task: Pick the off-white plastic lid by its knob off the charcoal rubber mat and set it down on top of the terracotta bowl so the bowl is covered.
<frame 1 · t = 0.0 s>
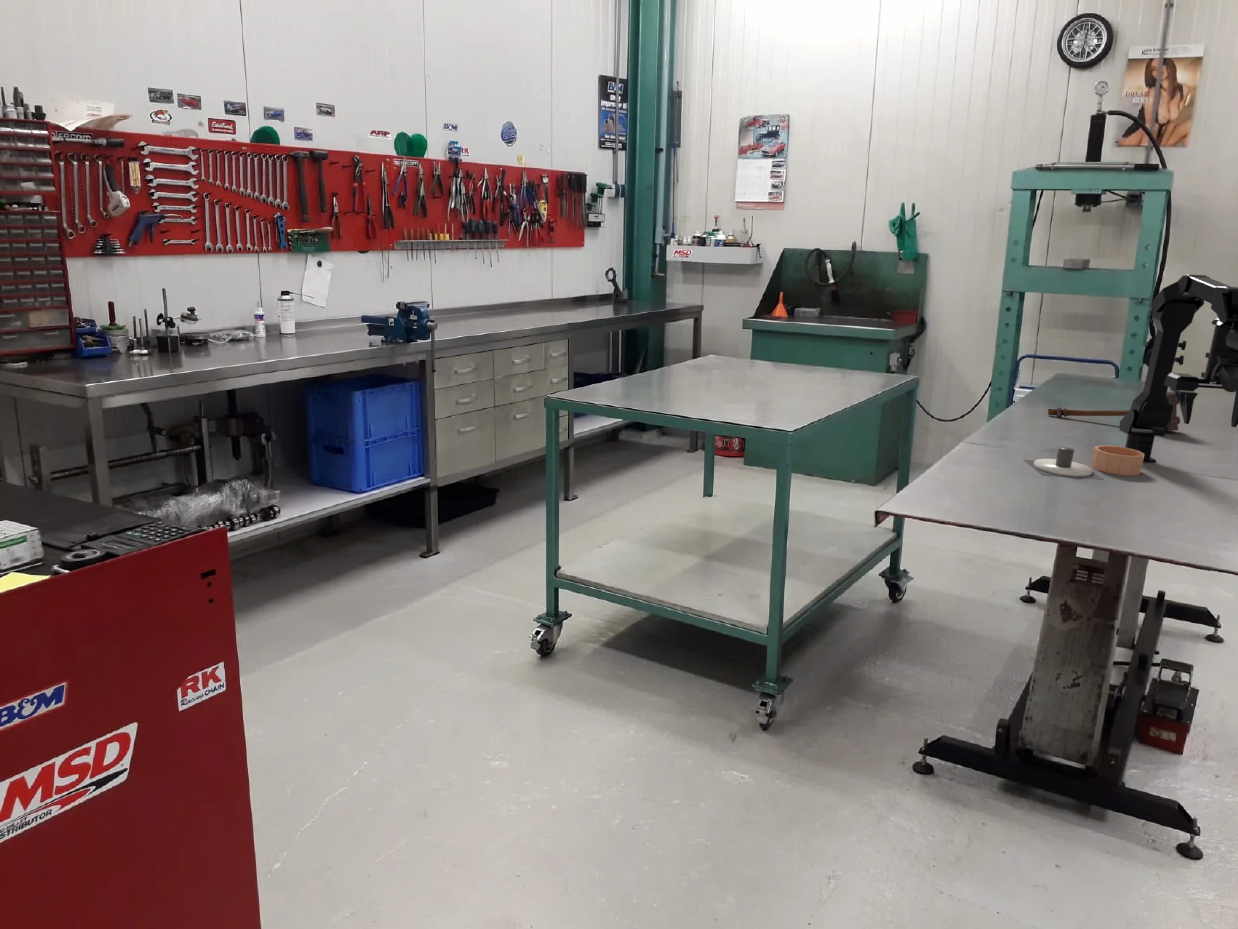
hand: (1209, 425, 187), 15 cm above the table, fingers open, 9 cm apart
mat: (1062, 470, 204), on the table
hammer: (1109, 425, 257), on the table
bowl: (1115, 469, 207), on the table
lid: (1062, 469, 204), resting on mat
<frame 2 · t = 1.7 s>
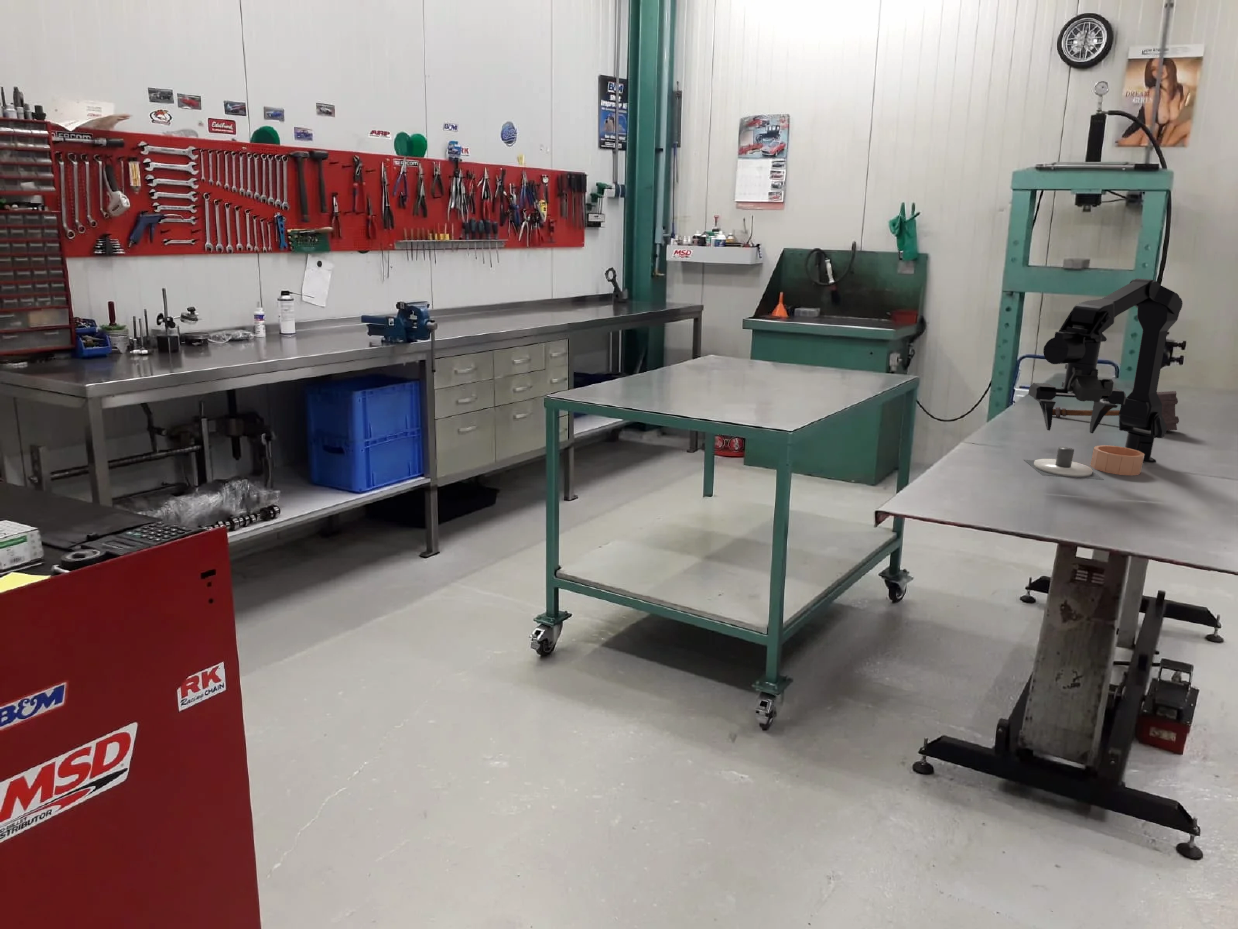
hand: (1069, 431, 202), 9 cm above the table, fingers open, 9 cm apart
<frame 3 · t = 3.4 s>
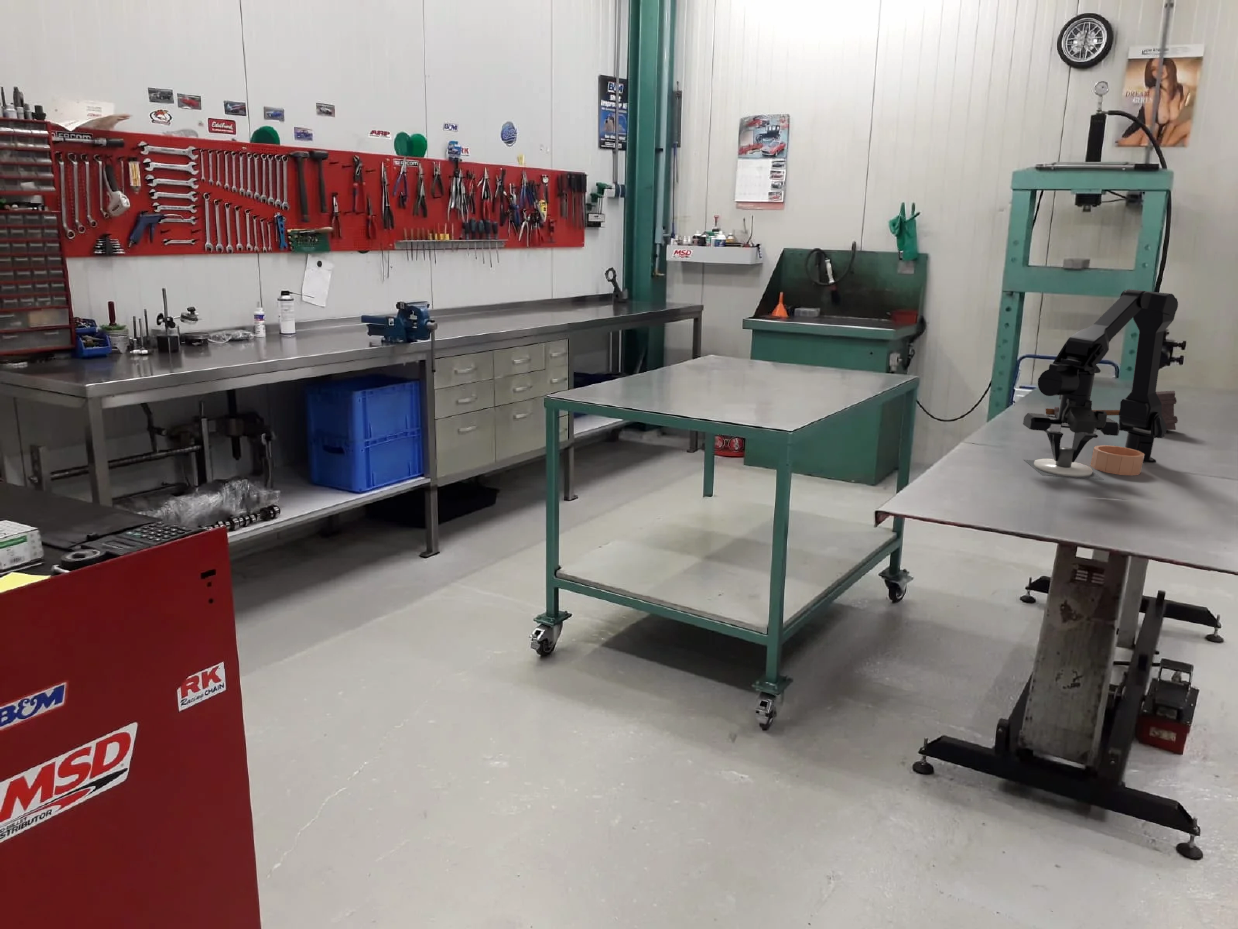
hand: (1063, 461, 204), 2 cm above the table, fingers closed on lid, 3 cm apart
lid: (1062, 469, 204), resting on mat, touching gripper
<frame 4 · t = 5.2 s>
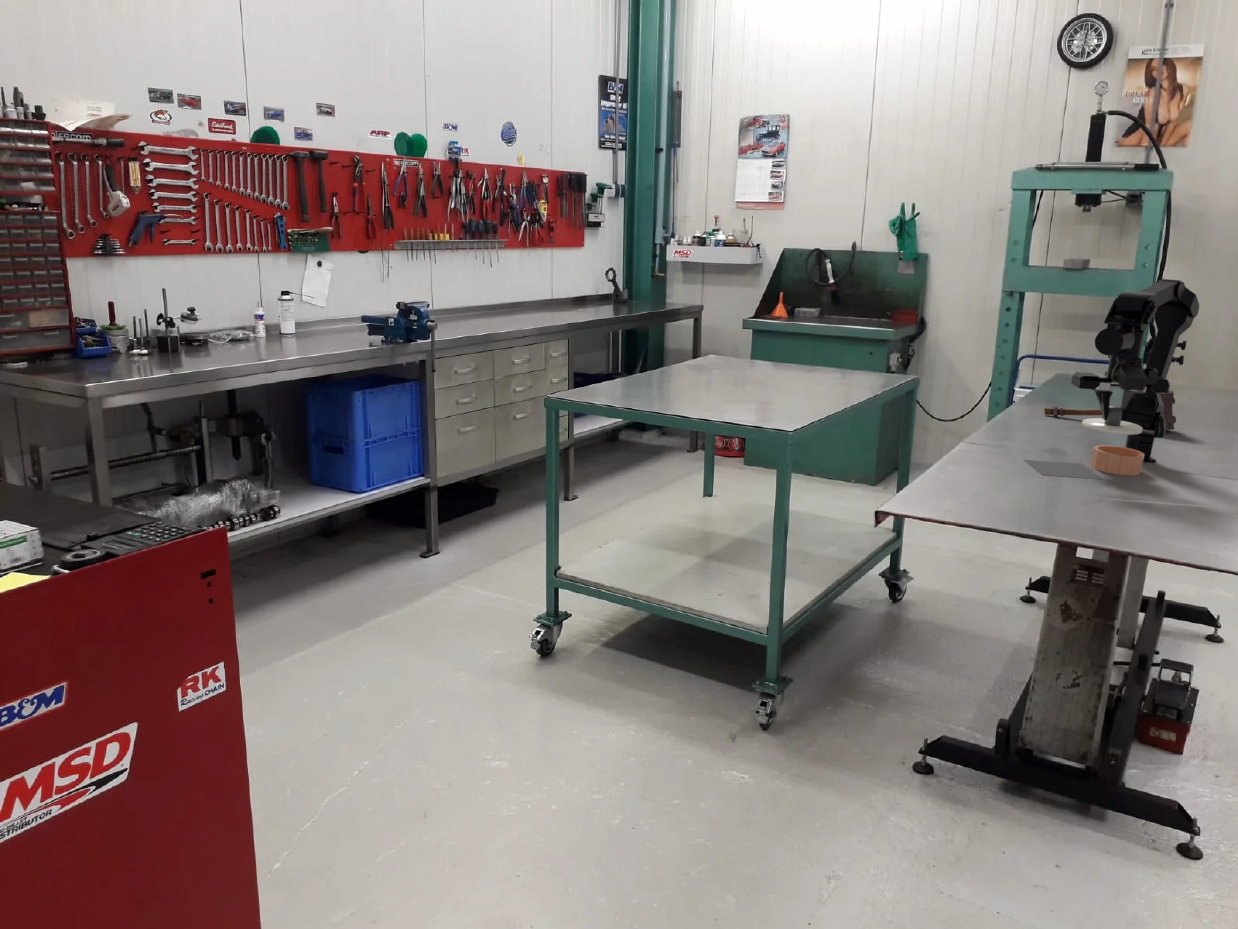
hand: (1112, 420, 204), 12 cm above the table, fingers closed on lid, 3 cm apart
lid: (1111, 428, 204), point 10 cm above the table, touching gripper
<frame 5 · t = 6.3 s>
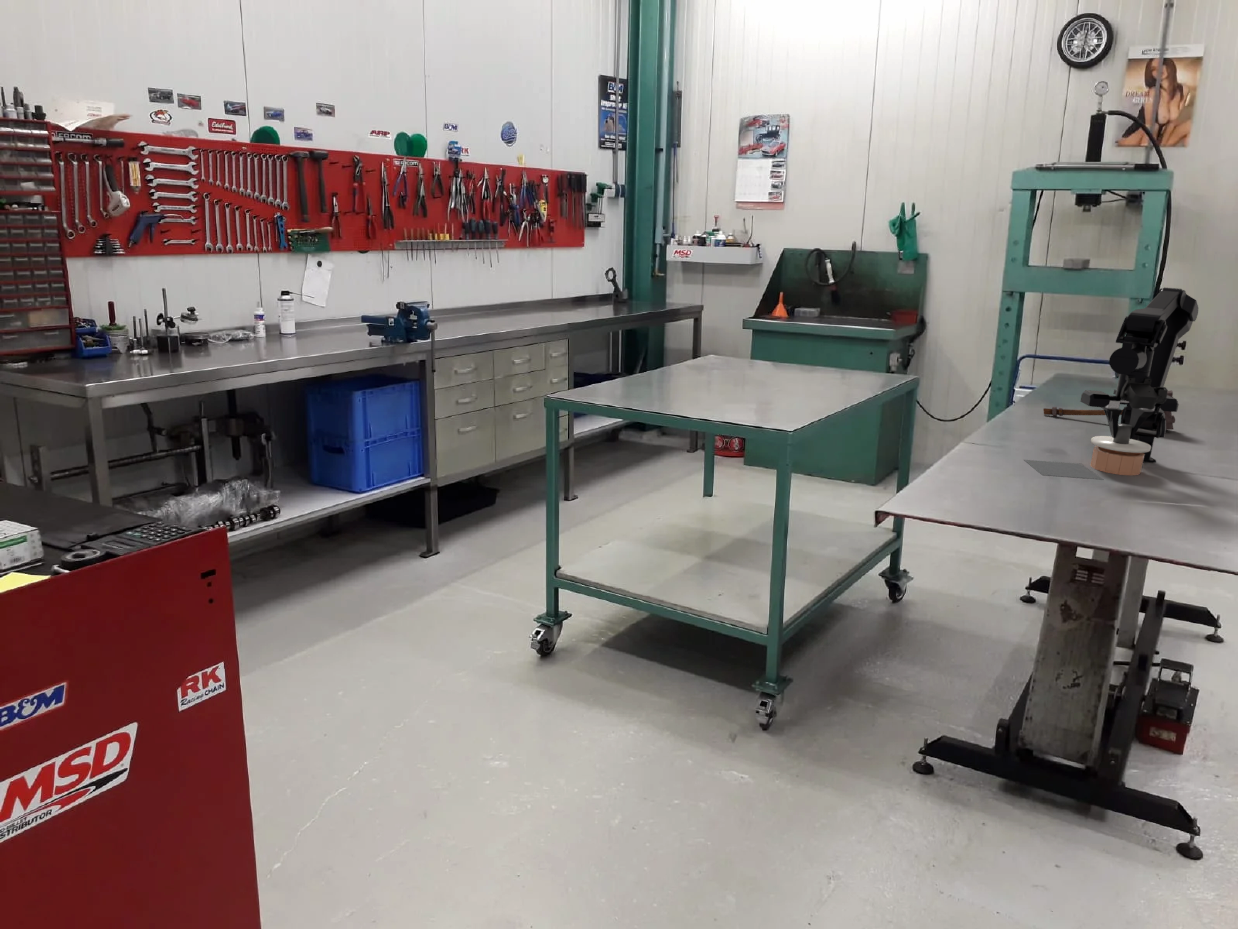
hand: (1121, 438, 205), 7 cm above the table, fingers closed on lid, 3 cm apart
lid: (1120, 445, 205), point 6 cm above the table, touching gripper
when the fingers open (7 cm above the table, at t = 6.9 s): lid drops 1 cm, resting on bowl.
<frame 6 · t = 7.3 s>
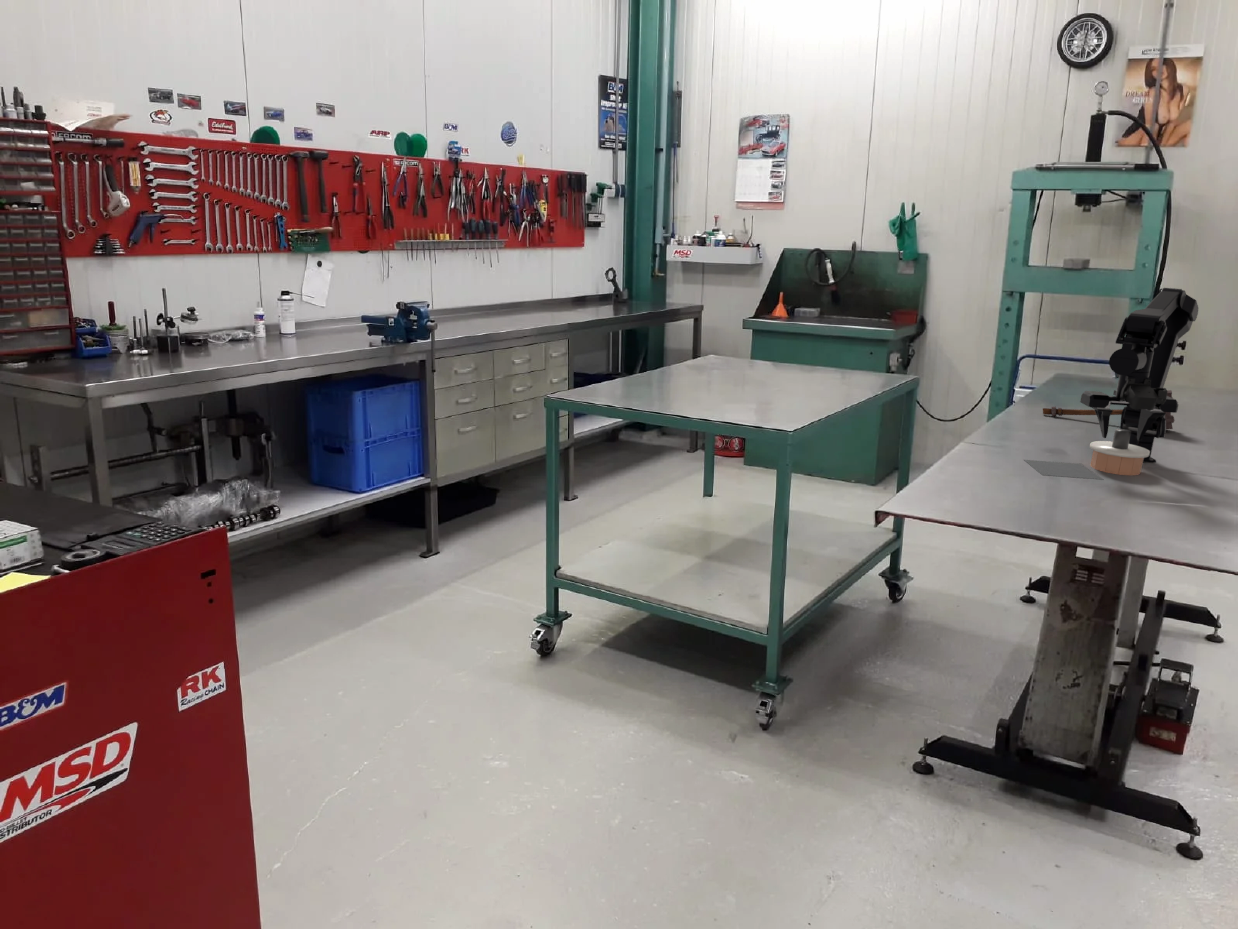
hand: (1121, 438, 205), 7 cm above the table, fingers open, 7 cm apart
lid: (1119, 450, 206), point 4 cm above the table, touching bowl
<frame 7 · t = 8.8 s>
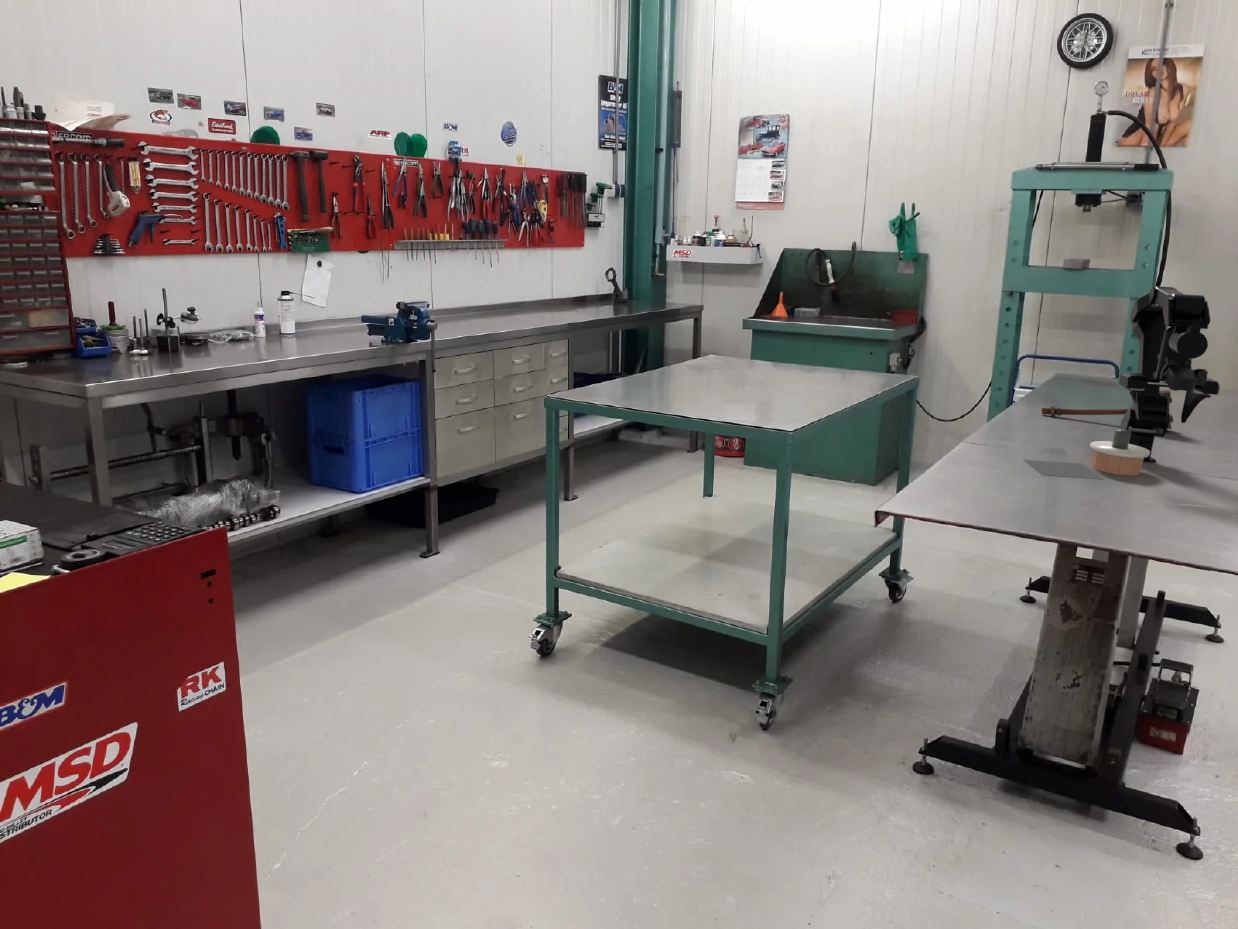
hand: (1160, 421, 204), 12 cm above the table, fingers open, 9 cm apart
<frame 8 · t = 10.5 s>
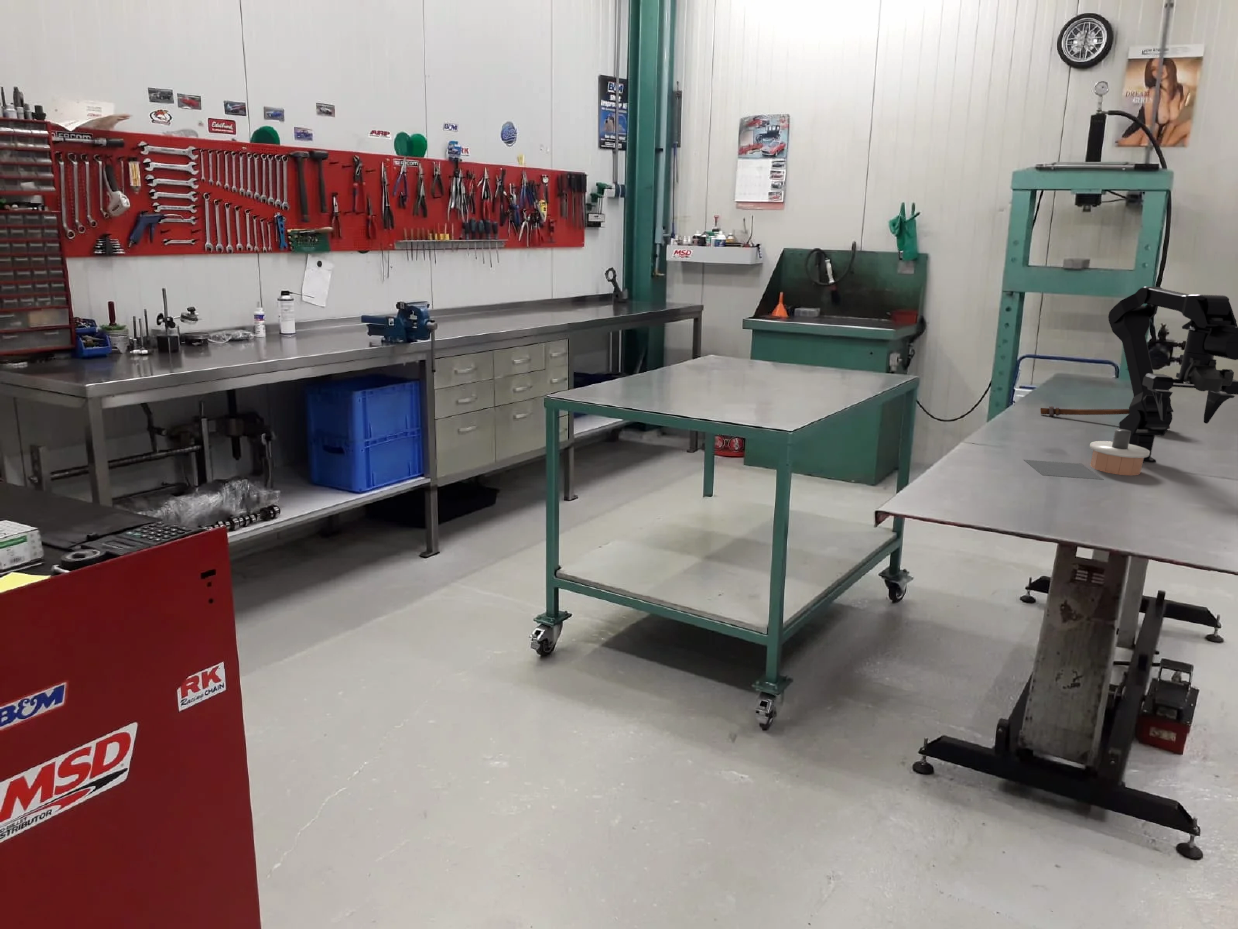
hand: (1184, 421, 203), 12 cm above the table, fingers open, 9 cm apart
at the end: lid 0.0 cm off-centre on the bowl, point 4.5 cm above the bowl's base; lid tilted 0°; the gripper is holding nothing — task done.
